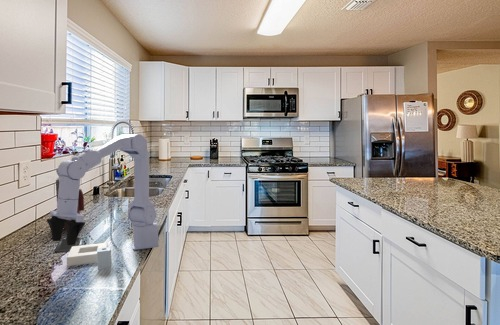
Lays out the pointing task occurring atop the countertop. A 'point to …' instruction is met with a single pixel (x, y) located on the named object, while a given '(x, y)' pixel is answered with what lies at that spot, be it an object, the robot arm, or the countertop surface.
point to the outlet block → (84, 254)
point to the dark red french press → (80, 199)
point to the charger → (104, 258)
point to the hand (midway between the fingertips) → (63, 242)
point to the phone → (65, 245)
